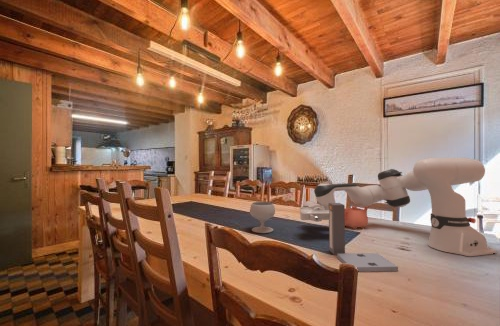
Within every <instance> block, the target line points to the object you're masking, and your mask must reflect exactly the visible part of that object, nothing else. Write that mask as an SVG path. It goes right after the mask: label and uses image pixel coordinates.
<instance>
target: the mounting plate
mask: <svg viewBox="0 0 500 326" xmlns="http://www.w3.org/2000/svg"><path fill="white" fill-rule="evenodd" d="M336 258H337V259H338V260H339V261H340V260H341V261H340V262H341V263H342V264H343V263H348V264H353V265H355V266H356V267H357V269H358V271H359V272H360V273H361V272H365V273H366V272H399V266H398V265H396V264H395V263H393V262H392V261H390V260H389V259H387V258H385V257H384V256H383V255H381V254H380V253H378V252H361V253H360V252H359V253H358V252H357V253H355V252H354V253H351V252H350V253H347V252H345V253H344V254H337V255H336ZM359 272H358V273H359Z"/></svg>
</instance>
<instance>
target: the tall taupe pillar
mask: <svg viewBox="0 0 500 326" xmlns="http://www.w3.org/2000/svg"><path fill="white" fill-rule="evenodd" d="M345 207H346V205H345V204H343V203H340V202H335V203H329V220H328V245H329V246H328V249H329V250H328V251H329V252H330V253H331V254H332V255H333V256H337V254H344V253H346V233H345V230H346V229H345Z"/></svg>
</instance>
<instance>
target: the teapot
mask: <svg viewBox="0 0 500 326" xmlns="http://www.w3.org/2000/svg"><path fill="white" fill-rule="evenodd" d="M369 207H370V206H364V208H358V206H357V205H356V206H355V205H352V206H351V207H346V208H345V226H346V227H347V228H349V227H351V229H352V230H357V228H360V229H365V227H367V226H368V224H369V219H368V209H369Z"/></svg>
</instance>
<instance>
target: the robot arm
mask: <svg viewBox="0 0 500 326" xmlns="http://www.w3.org/2000/svg"><path fill="white" fill-rule="evenodd" d="M485 174H486V168H485V166H484V163H482V162H481V161H480V160H478V159H474V158H467V157H429V158H424V159H420V160H417V162H416V163H415V164H414V166H413V168H412V171H410V172H408V173H407V174H404V175H403V172H402V171H399V170H397V169H395V168H386V169H383V170H381V171H380V172H379V173H378V174H377V181H379V184H380V185H377V184H373V185H372V184H371V185H365V186H358V184H356V183H348V182H347V183H345V182H344V183H343V182H342V183H330V184H329V183H320V184H316V186H315V187H314V189H313V191H314V195H315V198H316V202H315V201H313V200H306V201H305V202H304V203H303V205H302V206H300V209H299V215H300V220H301V221H311V222H312V221H313V222H315V223H318V222H322V221H329V203H336V199H335V194H334V193H335V192H340V191H341V192H342V191H344V192H345V193H346V195H348V197H349V199H350V200H351V202H353V204H355V205H356V206H357V207H358V206H359V207H369V206H371V205H374V204H377V203H379V202H380V201H385V202H384V204H387V205H388V206H390V207H392V208H403V207H405V206H408V205H409V204H410V202H411V197H410V195H409V194H408V193H409V192H408V190H409V191H410V192H411V191H412V192H422V191H428V193H429V196H430V200H431V201H430V203H431V212H430V224H431V226H430V227H431V228H430V232H429V233H430V234H429V238H428V242H427V246H429V247H430V248H432V249H435V250H438V251H442V252H446V253H451V254H456V255H462V256H466V257H476V256H477V257H478V256H484V255H493V253H495V254H496V253H497V251H496V250H495V249H494V248H491V247H488V241H487V238H486V237H485V235H483V234H482V233H480V231H478V230H477V229H475V228H473V227H472V226H471V224H470V223H472V224H475V223H476V222H477V220H476V218H474V217H467V216H466V199H465V197H464V196H463V195H461V194H460V193H458V192H456V191H455V190H454V189H453V187H452V186H457V185H461V184H462V185H463V184H471V183H475V182H479V181H481V180H482V179H483V178H484V176H485Z"/></svg>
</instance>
